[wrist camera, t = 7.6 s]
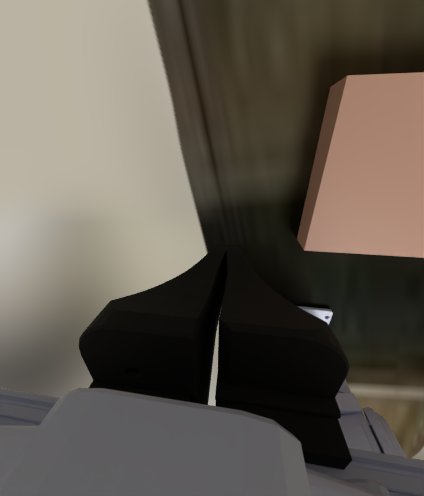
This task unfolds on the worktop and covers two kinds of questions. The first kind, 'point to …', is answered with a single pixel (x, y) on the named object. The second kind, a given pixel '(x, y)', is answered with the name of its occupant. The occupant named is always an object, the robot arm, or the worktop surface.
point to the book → (369, 169)
